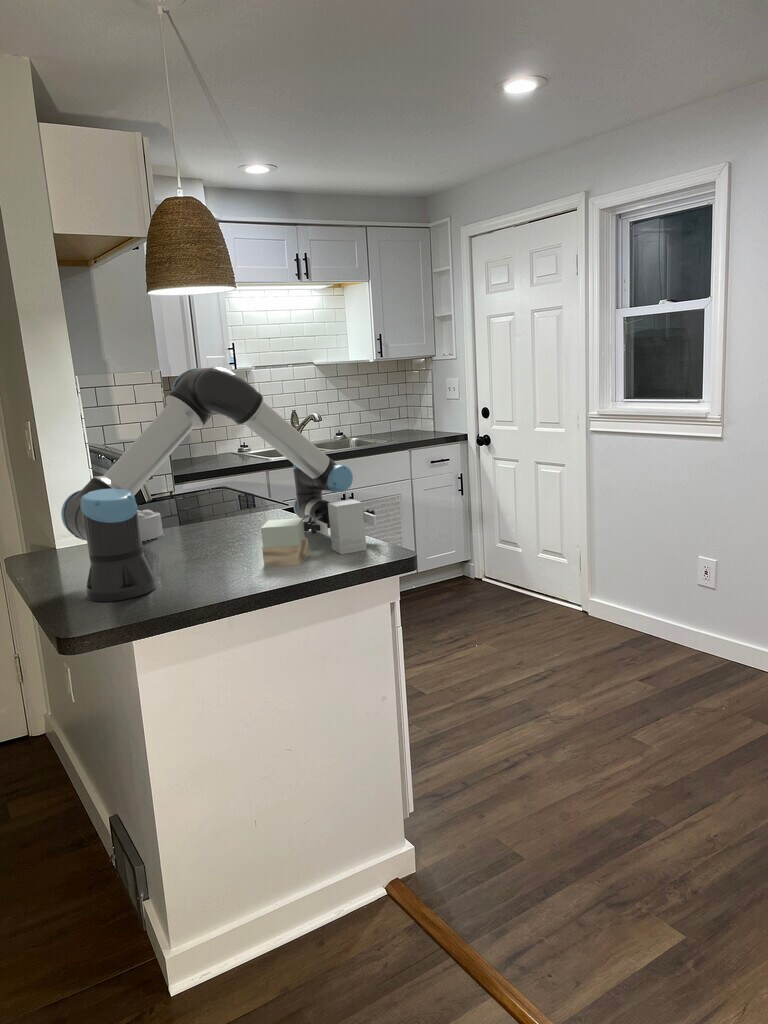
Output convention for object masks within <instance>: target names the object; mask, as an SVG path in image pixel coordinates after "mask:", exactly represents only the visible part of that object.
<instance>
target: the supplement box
mask: <svg viewBox="0 0 768 1024" xmlns="http://www.w3.org/2000/svg"><path fill="white" fill-rule="evenodd" d="M363 505H364V504H363V502H362V501H359V500H356V499H354V498H351V499H344V500H339V501H333V502H331V503H328V513H329V523H330V528H329V531H330V542H331V549H332V550H333V551H334V552H336V553H338V554H339V555H345V554H352V553H357V552H364V551H366V550H367V540H366V539H367V538H366V529H365V523H364V516H363V510H364V506H363Z"/></svg>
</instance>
